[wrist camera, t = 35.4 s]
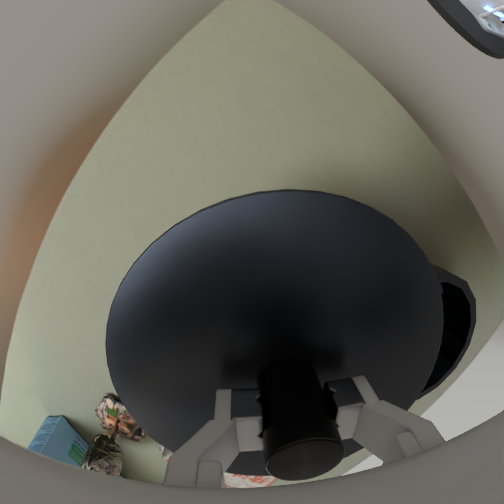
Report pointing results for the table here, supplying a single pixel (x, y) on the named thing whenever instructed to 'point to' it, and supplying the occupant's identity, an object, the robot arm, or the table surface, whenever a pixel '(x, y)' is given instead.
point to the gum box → (59, 441)
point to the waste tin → (452, 326)
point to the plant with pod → (110, 438)
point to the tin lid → (274, 322)
